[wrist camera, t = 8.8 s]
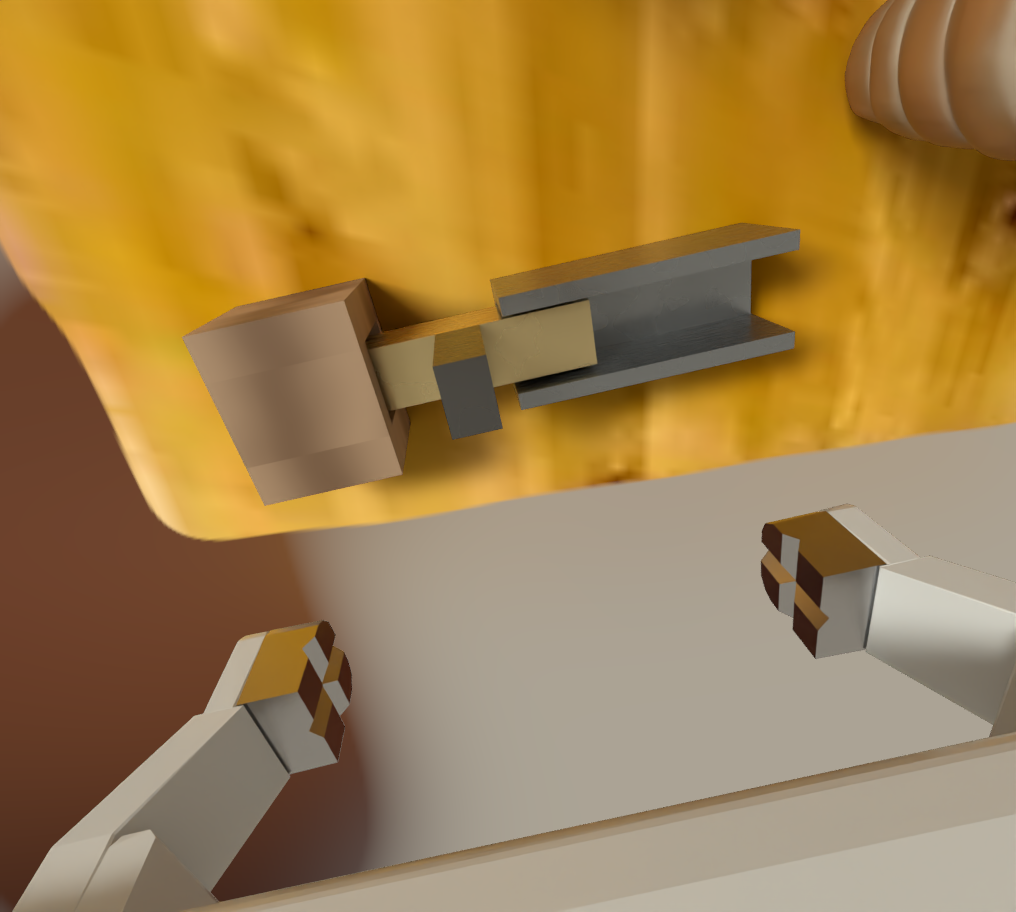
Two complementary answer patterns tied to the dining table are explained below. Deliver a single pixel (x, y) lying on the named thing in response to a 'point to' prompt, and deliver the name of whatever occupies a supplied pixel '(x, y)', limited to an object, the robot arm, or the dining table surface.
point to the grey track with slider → (655, 308)
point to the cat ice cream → (939, 73)
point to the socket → (302, 391)
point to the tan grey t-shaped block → (479, 359)
